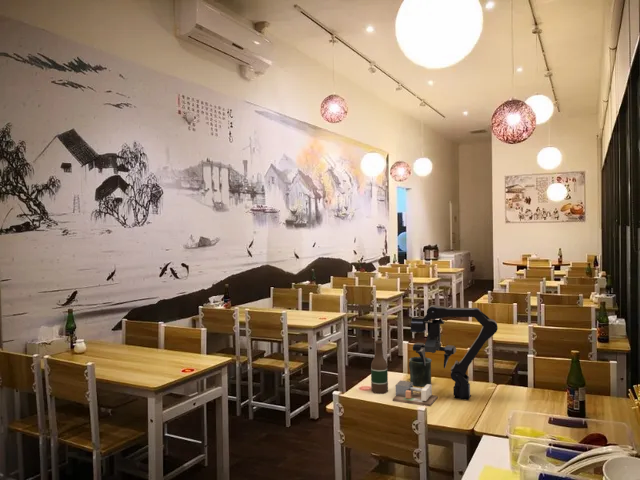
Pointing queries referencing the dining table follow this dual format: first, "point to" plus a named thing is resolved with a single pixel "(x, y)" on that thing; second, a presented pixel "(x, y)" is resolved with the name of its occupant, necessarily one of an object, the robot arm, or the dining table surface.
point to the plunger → (423, 391)
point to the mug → (420, 371)
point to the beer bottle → (379, 371)
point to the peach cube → (408, 394)
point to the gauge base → (416, 399)
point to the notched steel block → (403, 388)
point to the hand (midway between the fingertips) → (434, 367)
